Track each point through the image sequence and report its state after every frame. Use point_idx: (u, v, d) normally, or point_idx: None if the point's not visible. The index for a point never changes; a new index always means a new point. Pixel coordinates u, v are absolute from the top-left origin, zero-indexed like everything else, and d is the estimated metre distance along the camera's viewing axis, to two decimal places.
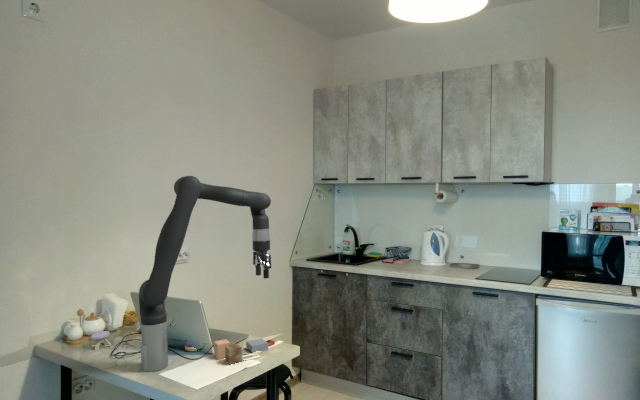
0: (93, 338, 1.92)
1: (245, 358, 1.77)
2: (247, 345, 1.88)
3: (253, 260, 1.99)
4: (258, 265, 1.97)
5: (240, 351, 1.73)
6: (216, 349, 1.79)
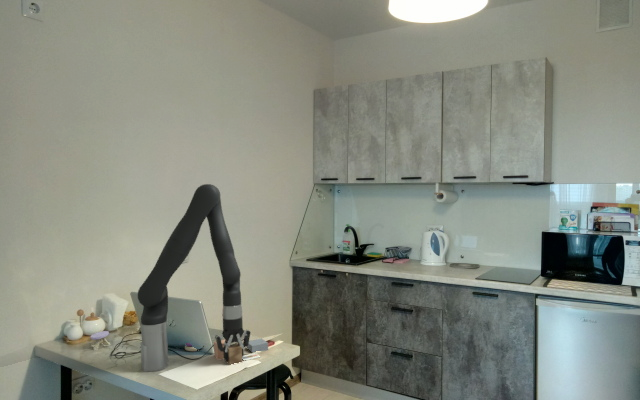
0: (92, 338, 1.92)
1: (245, 358, 1.77)
2: None
3: (220, 346, 1.71)
4: None
5: (240, 351, 1.73)
6: (216, 349, 1.79)
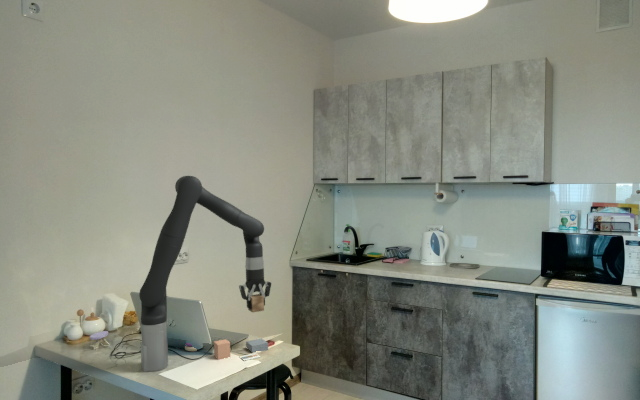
0: (92, 338, 1.92)
1: (245, 358, 1.77)
2: (247, 345, 1.88)
3: (243, 295, 1.84)
4: None
5: (262, 300, 1.86)
6: (216, 349, 1.79)
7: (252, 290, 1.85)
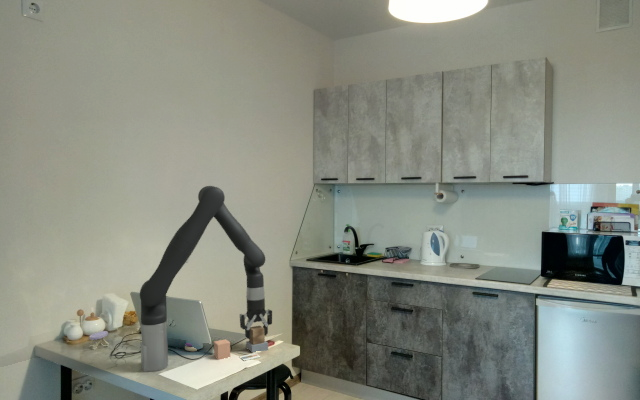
0: (91, 338, 1.92)
1: (245, 358, 1.77)
2: (247, 345, 1.88)
3: (243, 324, 1.84)
4: None
5: (263, 332, 1.87)
6: (216, 349, 1.79)
7: (252, 320, 1.85)
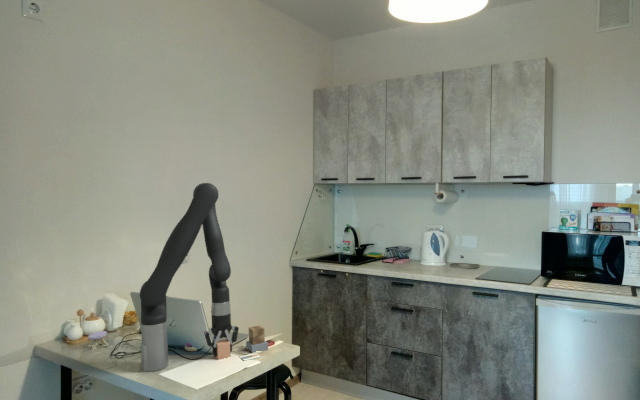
0: (90, 338, 1.92)
1: (245, 358, 1.77)
2: (247, 345, 1.88)
3: (209, 342, 1.77)
4: None
5: (263, 332, 1.87)
6: None
7: (218, 336, 1.78)
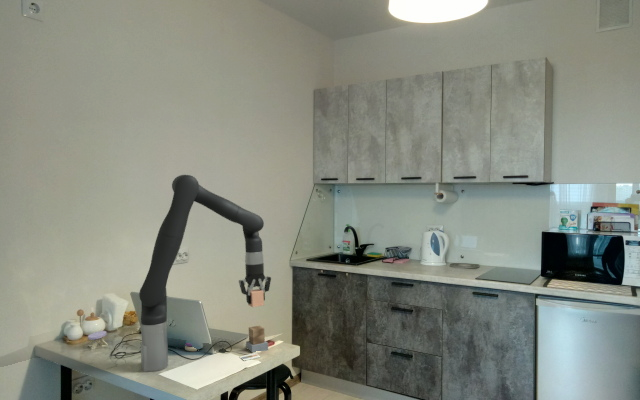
0: (89, 338, 1.92)
1: (245, 358, 1.77)
2: (247, 345, 1.88)
3: (243, 290, 1.84)
4: None
5: (263, 332, 1.87)
6: None
7: (252, 285, 1.85)
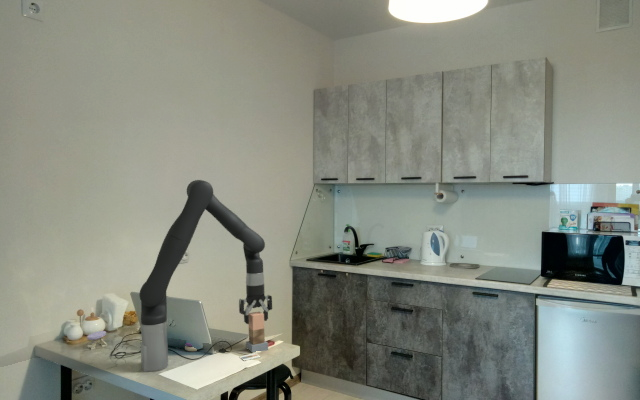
0: (89, 338, 1.92)
1: (245, 358, 1.77)
2: (247, 345, 1.88)
3: (242, 309, 1.84)
4: None
5: (263, 332, 1.87)
6: (251, 320, 1.86)
7: (251, 305, 1.85)
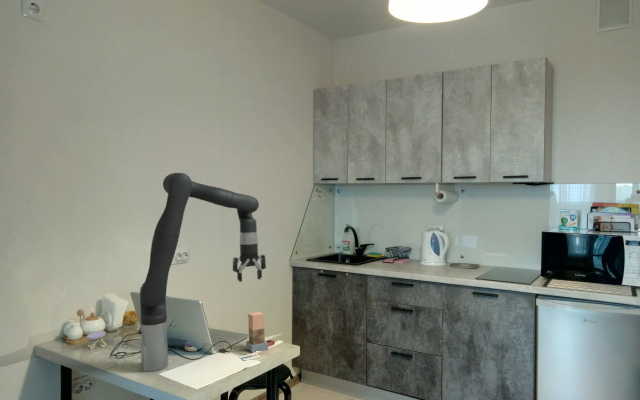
0: (88, 338, 1.92)
1: (245, 358, 1.77)
2: (247, 345, 1.88)
3: (235, 267, 1.88)
4: None
5: (263, 332, 1.87)
6: (251, 320, 1.86)
7: (245, 264, 1.90)
